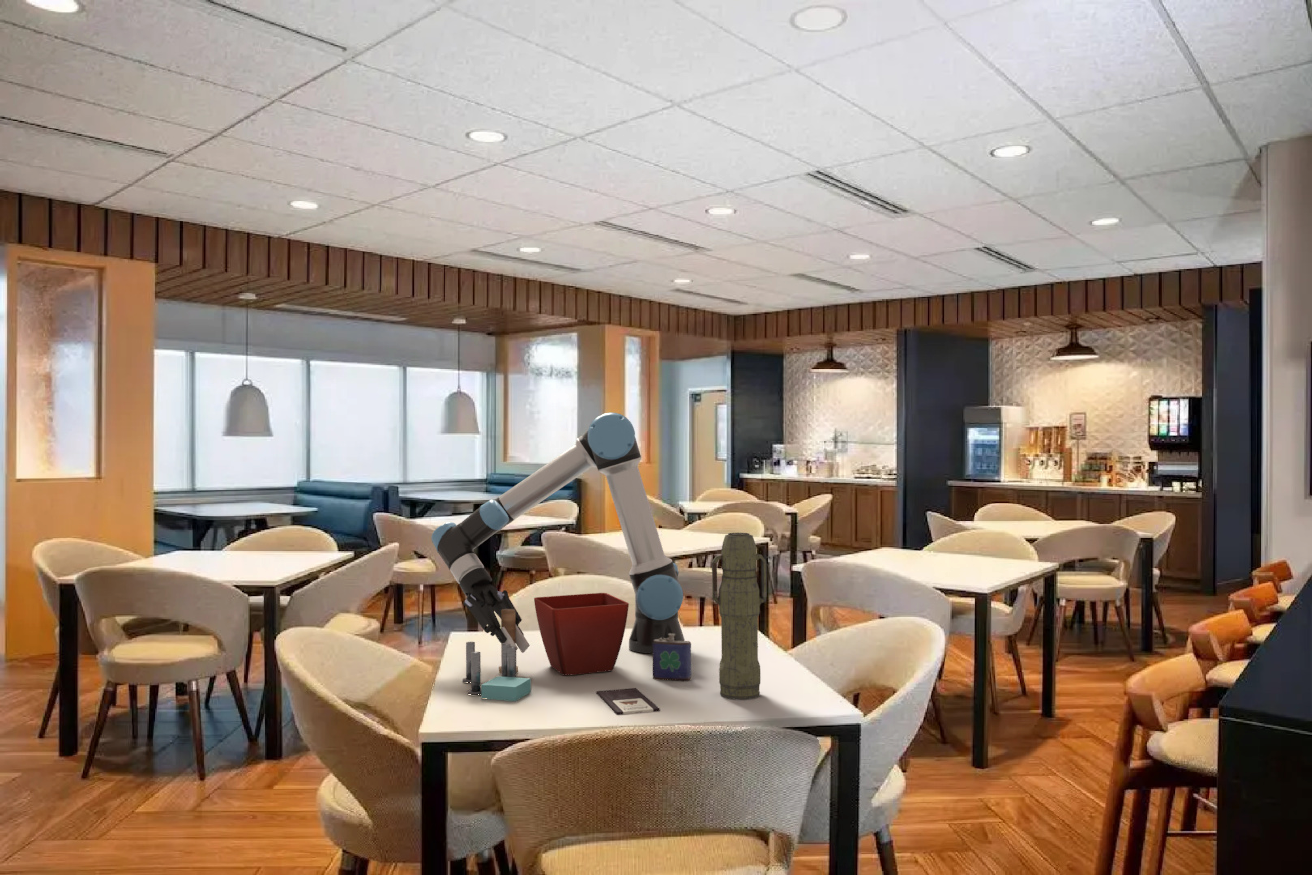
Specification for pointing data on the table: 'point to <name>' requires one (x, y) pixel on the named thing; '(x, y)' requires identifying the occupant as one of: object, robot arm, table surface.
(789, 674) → the table surface
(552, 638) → the plant pot
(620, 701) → the chocolate bar
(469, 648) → the post course
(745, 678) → the thermos
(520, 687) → the block
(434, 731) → the table surface
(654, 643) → the flask
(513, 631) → the brown flanged cylinder
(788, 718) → the table surface
